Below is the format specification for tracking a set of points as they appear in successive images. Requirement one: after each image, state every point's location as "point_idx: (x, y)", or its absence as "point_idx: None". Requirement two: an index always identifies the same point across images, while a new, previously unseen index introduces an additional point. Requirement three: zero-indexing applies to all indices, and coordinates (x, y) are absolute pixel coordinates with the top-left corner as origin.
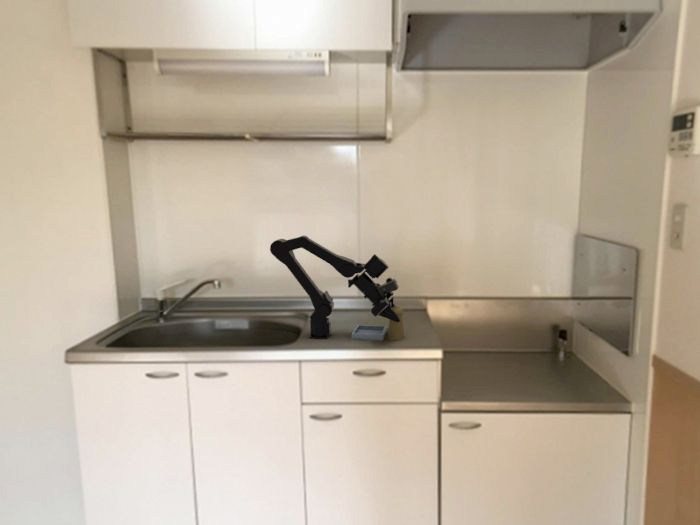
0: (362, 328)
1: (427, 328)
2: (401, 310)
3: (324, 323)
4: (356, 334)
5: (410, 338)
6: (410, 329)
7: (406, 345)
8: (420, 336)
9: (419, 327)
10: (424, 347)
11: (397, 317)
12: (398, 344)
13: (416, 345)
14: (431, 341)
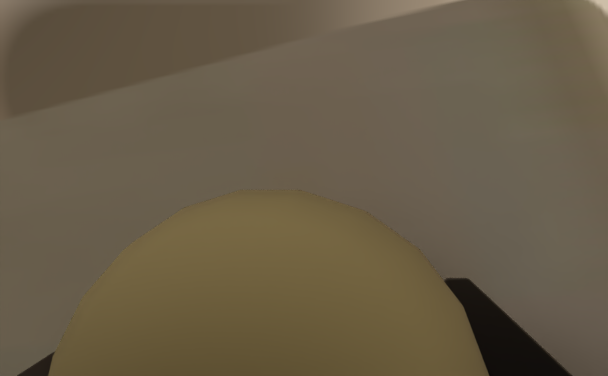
0: None
1: (58, 109)
2: (362, 213)
3: None
4: None
5: None
6: (76, 239)
7: (590, 220)
8: (275, 132)
9: (27, 172)
10: (592, 59)
11: (516, 326)
12: (585, 307)
13: (555, 130)
14: (400, 34)
